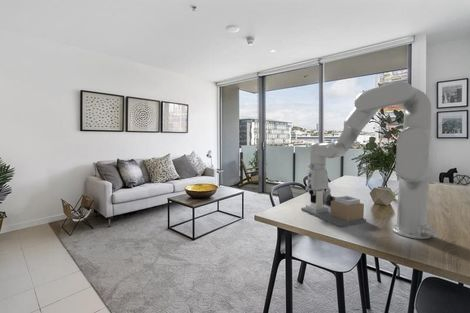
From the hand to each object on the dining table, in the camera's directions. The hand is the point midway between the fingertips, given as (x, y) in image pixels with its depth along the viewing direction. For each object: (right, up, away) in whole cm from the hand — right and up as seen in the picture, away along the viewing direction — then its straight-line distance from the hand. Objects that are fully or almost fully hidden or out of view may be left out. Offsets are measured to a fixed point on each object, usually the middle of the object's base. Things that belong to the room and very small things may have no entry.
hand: (316, 201), depth 122 cm
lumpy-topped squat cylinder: (+11, -4, +24) cm, 27 cm away
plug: (0, -4, 0) cm, 4 cm away
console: (+5, -6, -5) cm, 9 cm away
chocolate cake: (+14, -5, +9) cm, 17 cm away
